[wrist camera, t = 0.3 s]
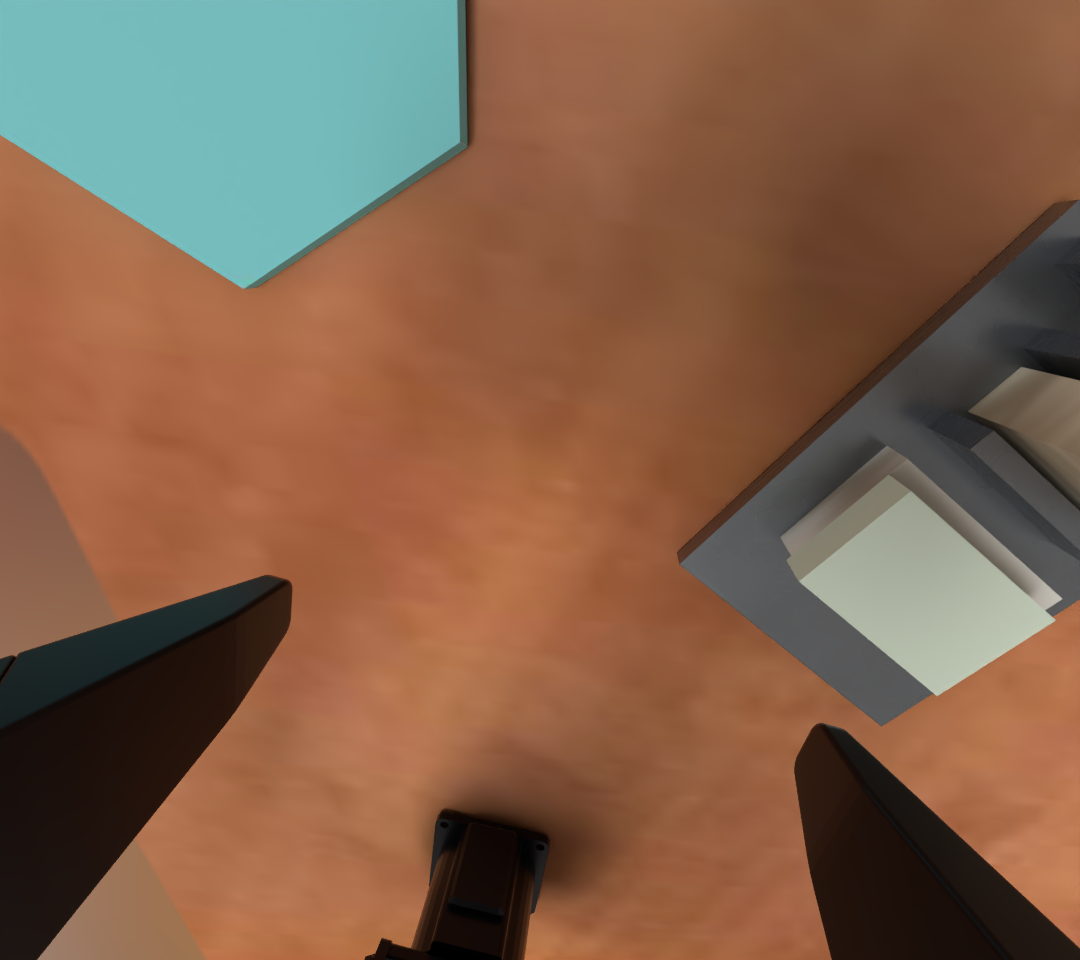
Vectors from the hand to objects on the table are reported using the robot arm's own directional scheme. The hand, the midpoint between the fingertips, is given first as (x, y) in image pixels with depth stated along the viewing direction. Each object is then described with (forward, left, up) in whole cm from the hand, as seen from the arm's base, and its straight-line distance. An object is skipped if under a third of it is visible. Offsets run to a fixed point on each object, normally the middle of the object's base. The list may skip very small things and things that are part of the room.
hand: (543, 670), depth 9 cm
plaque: (+14, +15, -15) cm, 25 cm away
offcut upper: (-2, -12, -12) cm, 17 cm away
